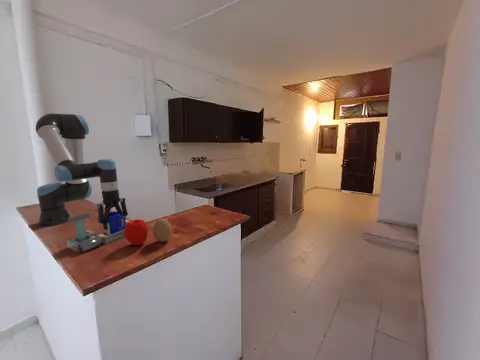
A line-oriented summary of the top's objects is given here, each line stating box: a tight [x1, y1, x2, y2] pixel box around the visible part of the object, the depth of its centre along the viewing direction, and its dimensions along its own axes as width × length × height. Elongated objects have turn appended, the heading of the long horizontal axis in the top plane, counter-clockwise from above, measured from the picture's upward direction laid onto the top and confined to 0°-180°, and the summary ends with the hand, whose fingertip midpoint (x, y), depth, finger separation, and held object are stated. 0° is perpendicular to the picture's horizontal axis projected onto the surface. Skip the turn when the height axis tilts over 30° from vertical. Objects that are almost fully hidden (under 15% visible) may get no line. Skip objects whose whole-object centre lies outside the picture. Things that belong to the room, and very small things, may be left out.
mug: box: [103, 211, 127, 234], centre depth 121 cm, size 8×12×10 cm
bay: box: [86, 219, 130, 245], centre depth 121 cm, size 18×20×3 cm
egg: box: [152, 217, 173, 243], centre depth 109 cm, size 8×8×11 cm
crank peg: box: [67, 213, 91, 242], centre depth 106 cm, size 3×8×13 cm, turn 150°
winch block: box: [66, 233, 102, 253], centre depth 106 cm, size 13×9×4 cm
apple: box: [124, 219, 149, 246], centre depth 106 cm, size 10×10×12 cm
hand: (115, 232), depth 121 cm, fingers open, 7 cm apart
